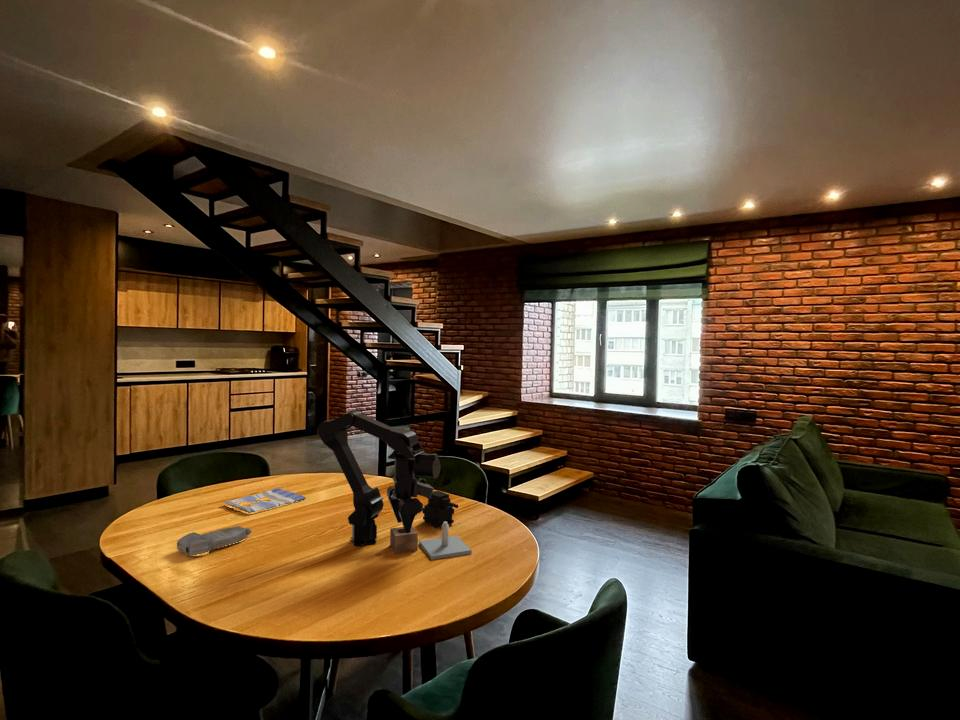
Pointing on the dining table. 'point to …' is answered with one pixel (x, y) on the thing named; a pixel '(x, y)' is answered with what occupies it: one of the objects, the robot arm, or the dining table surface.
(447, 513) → the toy
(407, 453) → the robot arm
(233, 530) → the handheld device
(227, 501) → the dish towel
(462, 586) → the dining table surface
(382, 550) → the dining table surface
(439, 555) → the grey peg base
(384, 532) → the dining table surface
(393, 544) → the hollow square sleeve
